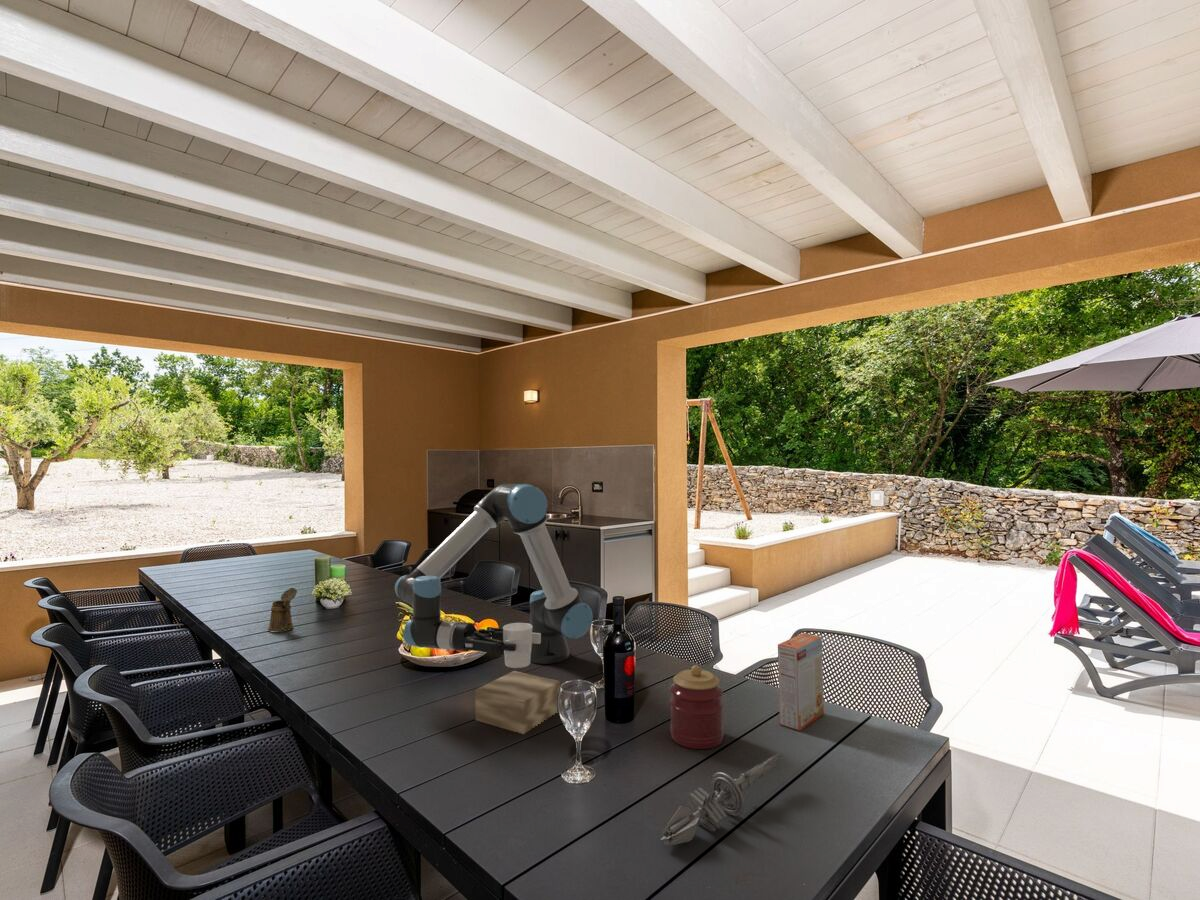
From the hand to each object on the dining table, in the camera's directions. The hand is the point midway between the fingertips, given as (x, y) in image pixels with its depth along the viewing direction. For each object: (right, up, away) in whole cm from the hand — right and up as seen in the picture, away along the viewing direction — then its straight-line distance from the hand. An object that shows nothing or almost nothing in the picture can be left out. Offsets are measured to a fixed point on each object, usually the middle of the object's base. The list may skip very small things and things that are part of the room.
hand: (534, 643), depth 158 cm
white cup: (-5, -6, +1) cm, 8 cm away
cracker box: (+70, -19, -3) cm, 73 cm away
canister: (+41, -20, -12) cm, 47 cm away
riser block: (-4, -20, +1) cm, 20 cm away
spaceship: (+42, -19, -43) cm, 63 cm away
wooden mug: (-111, -22, +82) cm, 140 cm away
